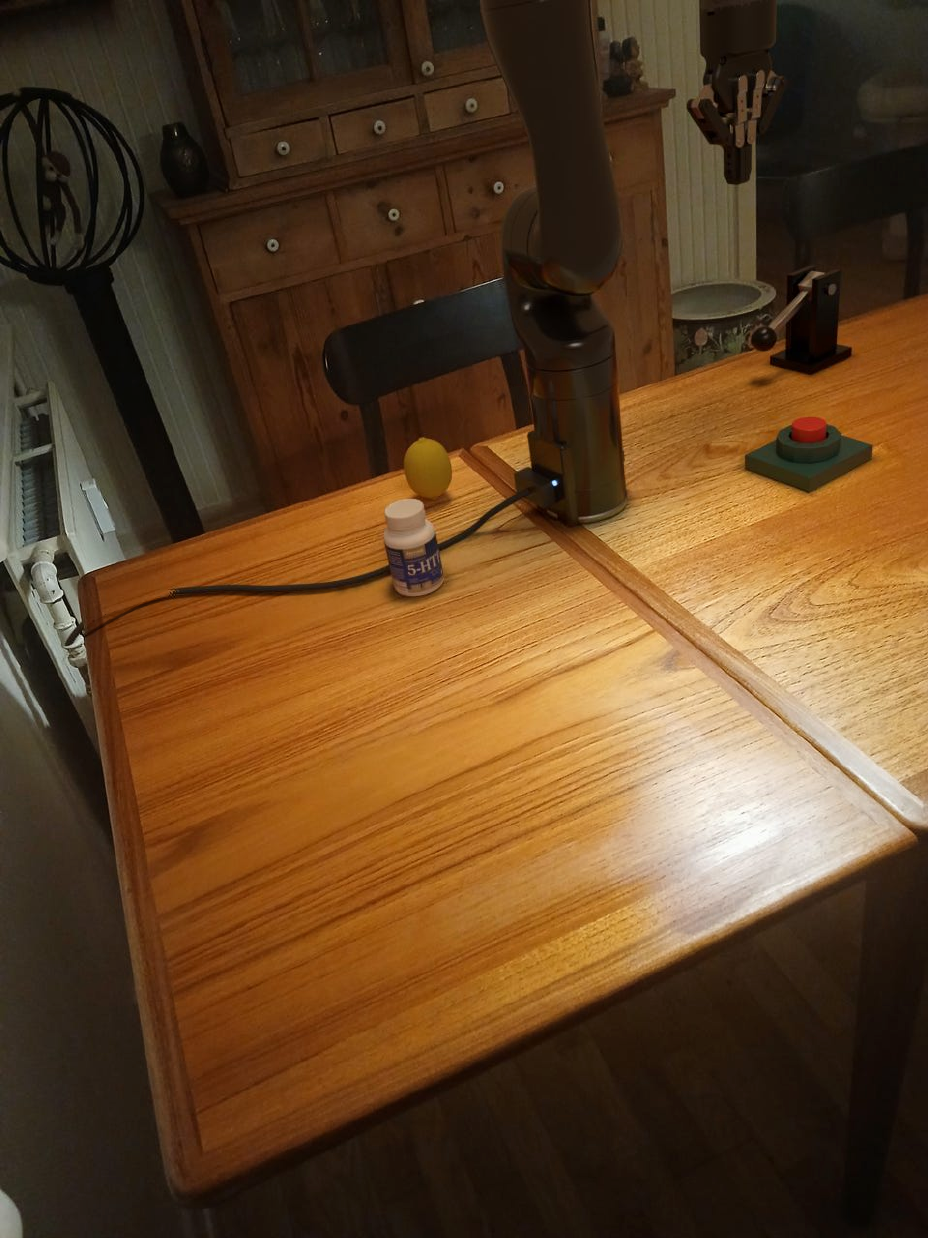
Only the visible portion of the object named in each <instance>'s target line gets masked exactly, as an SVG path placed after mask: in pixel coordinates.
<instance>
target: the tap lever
mask: <svg viewBox="0 0 928 1238" xmlns="http://www.w3.org/2000/svg"><path fill="white" fill-rule="evenodd" d="M825 273H826V272H824V271H823V272H822V271H817V270H816V271H811V272H810V273H809V274H808V275H807V276H806V277H805V278H804V279H803V280H802V281H801V282H800V283H799V284H798V288H799V291H800V293H799V294H798V295H797V296H796V297H795V298H794V299H793V301H792V302H791V303H790V304H789V305H788V306H787V307H786V306H785V308H784V309H783V310H782V311H781V312H780V313H779V314H778V315H777V316H776V317H775V319H773V321H772V322H770V324H769V325H761V326H759V327H757V328H756V329H754V331H753V332H752V334H751V336H750V343H751V346H752V348H753V349H754V350H755V351H758V352H762V353H764V352H765V353H766V352H768V351H771V350H772V349H773V348H774V347H775V345H776V343H777V340H778V335H777V334H778V333H779V332H780V331H781V330H782V328H784V326H786V323H787V322H788V321H789V320H790V319H791V318H792V317H793V316H794V314H795V313H796V312H797V311H798V310H799V309H800V308H801V307H802V306H803V305H804V304H805V303H806V302H807V301H811V294H812V279H813V278H815V277H818V276H820V275H823V274H825Z"/></svg>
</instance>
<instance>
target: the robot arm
mask: <svg viewBox="0 0 928 1238" xmlns="http://www.w3.org/2000/svg"><path fill="white" fill-rule="evenodd" d="M777 2H778V0H698V4H699V5H698V17H699V19H698V20H699V54H700V55H701V58H704V61H705V69H704V73H703V76H702V85H703V87H702V89H701V90H700V91H699V93H698V95H697V96H696V97H695V98H689V99H688V100H687V102H686V110H687V112H688V113H689V115H690V116H691V118H692V120H693V122H694V123H695V125H696V126H697V128H698V129H699V130H700V132H701V134H702V135H703V137H704V138H705V140H706V142H707V143H708V144H709V145H712V146H715V145H717V146H720V147H721V148H722V150H723V177H724V180H725V182H726V184H728V185H735V186H739V185H742V184H744V183H748V182H750V179H751V175H752V172H753V144H754V143H755V140H756V138H757V137H758V136H760V135H762V134H765V133H767V130H768V128H769V126H770V123H771V121H772V119H773V116H774V115H775V113H776V110H777V109H778V105H779V104H780V102H781V99H782V97H783V95H784V93H785V90H786V88H787V85H788V77H787V76H785V75H778V74H776V73H775V72H774V71H773V70H772V68H773V62H772V58H771V55H770V48H772V47H773V46H774V45H775V43H776V41H777V12H778V11H777V7H778V6H777V5H778V3H777ZM478 5H479V10H480V12H479V13H480V17H481V21H482V27H483V31H484V34H485V38H486V41H487V44H488V47H489V50H490V53H491V56H492V58H493V60H494V63H495V66H496V67H497V70H498V72H499V75H500V76H501V79H502V80H503V84H504V85H505V87H506V89H507V91H508V93H509V96H510V97H511V99H512V101H513V104H514V106H515V108H516V111H517V112H518V115H519V117H520V120H521V122H522V124H523V128H524V130H525V134H526V136H527V140H528V143H529V147H530V148H529V149H530V152H531V158H532V164H533V172H534V182H535V184H533V185H530V186H528V187H526V188H524V189H523V190H521V191H520V192H519V193H518V194H517V195H515V196H514V198H513V199H512V200H511V202H510V203H509V205H508V206H507V208H506V211H505V214H504V216H503V220H502V222H501V229H500V257H501V264H502V271H503V276H504V283H505V288H506V293H507V299H508V303H509V304H508V306H509V311H510V316H511V317H510V318H511V321H512V325H513V329H514V331H515V334H516V336H517V338H518V339H519V341H520V344H521V346H522V349H523V353H524V360H525V368H526V376H527V385H528V392H529V399H530V409H531V416H532V423H533V429H532V430H529V431H528V432H527V435H526V438H527V445H528V452H529V459H530V466H531V467H529V466H527V467H525V468H522V469H520V470H518V471H516V472H514V473H513V477H514V484H515V490H516V493H515V494H513V495H511V496H510V497H508V498H506V499H504V500H503V501H502V502H500V503H498V504H496V505H495V506H494V507H492V508H490V509H489V510H488V511H486V512H485V513H484V514H483V515H482V516H481V517H480V518H479V519H478V520H477V521H476V522H474V523H473V524H472V525H470V526H469V527H468V528H466V529H464V530H463V531H461V532H459V533H457V534H456V535H454V536H452V537H450V538H448V539H446V540H444V541H442V542H438V548H439V552H441V551H443V550H445V549H447V548H449V547H451V546H453V545H455V544H457V543H459V542H460V541H462V540H464V539H466V538H468V537H469V536H471V535H472V534H474V533H475V532H477V531H478V530H479V529H481V528H482V527H483V526H484V525H485V524H486V523H487V522H488V521H489V520H491V518H493V517H494V516H496V515H497V514H499V513H500V512H501V511H503V510H504V509H506V508H508V507H509V506H512V505H513V504H515V503H517V502H519V501H520V500H522V499H524V500H527V501H529V502H531V503H532V504H535V505H536V510H537V511H538V512H540V513H542V514H544V515H546V516H547V517H549V518H551V519H553V520H555V521H557V522H558V523H561V524H562V525H565V526H567V527H568V528H572V527H574V526H577V525H580V524H588V523H595V522H599V521H602V520H605V519H608V518H610V517H613V516H615V515H617V514H618V513H620V512H621V511H622V510H623V509H624V508H625V507H626V506H627V504H628V502H629V501H628V500H629V499H628V498H629V497H628V489H627V484H626V469H625V462H626V455H625V454H626V453H625V450H624V443H623V429H622V416H621V402H620V392H619V391H620V389H619V373H618V361H617V349H616V337H615V336H616V335H615V328H614V325H613V322H612V320H611V319H610V318H609V316H608V314H607V313H605V312H604V311H603V309H602V308H601V307H600V306H599V304H598V302H597V301H596V298H595V296H594V294H596V293H597V292H599V291H600V290H602V288H604V287H605V286H606V285H607V284H608V283H609V282H610V280H611V279H612V277H613V276H614V274H615V272H616V270H617V267H618V265H619V261H620V259H621V255H622V248H623V241H624V240H623V238H624V234H623V232H624V231H623V221H622V212H621V208H620V202H619V197H618V191H617V186H616V182H615V176H614V171H613V166H612V161H611V156H610V150H609V145H608V140H607V134H606V127H605V122H604V114H603V113H604V112H603V105H602V94H601V93H602V92H601V85H600V75H599V66H598V64H599V63H598V58H597V57H598V56H597V50H596V39H595V29H594V18H593V1H592V0H478ZM758 119H759V120H758ZM388 573H391V571H390V567H389V564H387V565H385V566H383V567H380V568H377V569H374V570H372V571H369V572H366V573H363V574H359V575H355V576H352V577H348V578H343V579H337V580H333V581H327V582H326V581H323V582H316V583H314V582H313V583H297V584H296V583H295V584H278V585H277V584H275V585H259V584H258V585H256V584H217V585H216V584H215V585H214V584H213V585H202V586H201V585H199V586H186V587H176V588H171V589H168V590H175V591H176V592H175V591H173V594H172V593H171V592H170V594H172V596H180V595H192V594H193V595H194V594H209V593H211V594H212V593H228V592H229V593H233V592H235V593H236V592H237V593H264V594H265V593H268V594H269V593H271V594H272V593H290V592H291V593H294V592H295V593H296V592H311V591H312V592H313V591H323V590H324V591H325V590H333V589H338V588H344V587H347V586H348V587H349V586H351V585H356V584H359V583H363V582H366V581H370V580H373V579H375V578H378V577H381V576H383V575H386V574H388ZM177 590H178V591H179V592H178V591H177ZM174 594H175V595H174ZM177 594H178V595H177ZM172 596H170V595H169V596H168V597H172ZM85 619H86V618H84V619H83V620H84V622H85ZM83 620H82V621H80V622H79V624H77V626H75V628H74V629H72V632H70V634H69V635H68V637H67V639H66V641H65V642H64V647H65V648H66V647H70V646H71V645H73V644H75V641H76V640H77V638H78V637H79V636H80V635H81V633H82V632H83V631H85V629H84V628H83V627H84V626H83Z"/></svg>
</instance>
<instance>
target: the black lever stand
mask: <svg viewBox="0 0 928 1238" xmlns="http://www.w3.org/2000/svg"><path fill="white" fill-rule="evenodd" d="M811 271H816V272H817V266H816V265H808V266H805V267H803V268H800V269H797V270H795V271H793V272H791V273H788V274H787V275H786V305H785V308H786V307H787V306H788V305H789V304H790V303H791V302H792V301H793V299H794V298H795V297H796V296H797V295H798V294H799V293H800V291H799V288H798V284H799V283H800V282H801V281H802V280H803V279H804V278H805V277H806V276H807V275H808V274H809V273H810V272H811ZM824 273H825V274H823V275H820V276H818V277H815V278H813V279H812V294H811V301H807V302H806V303H805V304H804V305H803V306H802V307H801V308H800V309H799V310H798V311H797V312H796V313H795V314H794V316H793V317H792V318H791V319H790V320H789V321H788V322H787V323H786V324H785V342H784V349H783V350H781V351H777V352H776V353H774V354H772V355H770V356H769V365H771V366H775V367H779V368H781V369H782V368H783V369H787V370H791V371H794V372H798V373H802V374H806V375H814V374H816V373H818V372H820V371H823V370H824V369H827V368H829V367H832V366H833V365H835V364H837V363H839V362H841V361H844V360H846V359H849V358H850V357H852V353H853V352H852V351H853V347H852V346H848V345H842V344H839V343H838V332H839V316H840V315H839V314H840V302H841V301H840V299H841V281H842V270H841V269H838V268H837V269H833V270H830V271H828V272H824Z"/></svg>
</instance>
